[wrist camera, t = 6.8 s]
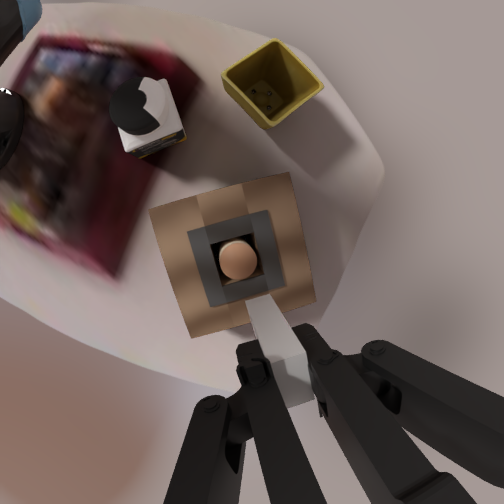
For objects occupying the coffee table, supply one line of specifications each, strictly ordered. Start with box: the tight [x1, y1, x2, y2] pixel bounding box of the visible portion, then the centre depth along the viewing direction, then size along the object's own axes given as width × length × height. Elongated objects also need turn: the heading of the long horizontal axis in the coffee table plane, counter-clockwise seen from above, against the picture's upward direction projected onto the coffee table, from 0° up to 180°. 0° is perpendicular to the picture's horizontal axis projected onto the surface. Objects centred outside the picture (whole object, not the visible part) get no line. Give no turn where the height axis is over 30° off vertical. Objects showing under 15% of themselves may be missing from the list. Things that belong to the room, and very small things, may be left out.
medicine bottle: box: [109, 77, 186, 158], centre depth 29 cm, size 7×7×12 cm
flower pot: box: [221, 38, 324, 129], centre depth 32 cm, size 9×9×9 cm
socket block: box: [148, 172, 316, 338], centre depth 36 cm, size 16×16×8 cm
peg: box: [217, 236, 257, 280], centre depth 35 cm, size 4×4×8 cm
